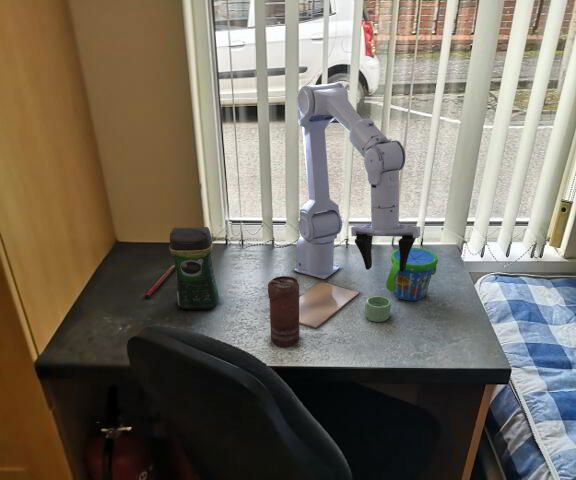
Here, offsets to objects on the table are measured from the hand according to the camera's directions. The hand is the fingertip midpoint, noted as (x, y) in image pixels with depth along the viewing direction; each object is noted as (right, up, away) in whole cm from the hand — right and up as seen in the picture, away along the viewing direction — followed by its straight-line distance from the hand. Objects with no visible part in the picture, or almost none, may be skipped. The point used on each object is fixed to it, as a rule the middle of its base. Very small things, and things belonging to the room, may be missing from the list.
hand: (385, 269), depth 124 cm
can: (-22, -16, -2) cm, 27 cm away
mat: (-14, -6, +11) cm, 19 cm away
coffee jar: (-43, -6, +13) cm, 45 cm away
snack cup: (+8, -3, +15) cm, 17 cm away
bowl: (-1, -10, +6) cm, 11 cm away
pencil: (-54, +1, +23) cm, 58 cm away
